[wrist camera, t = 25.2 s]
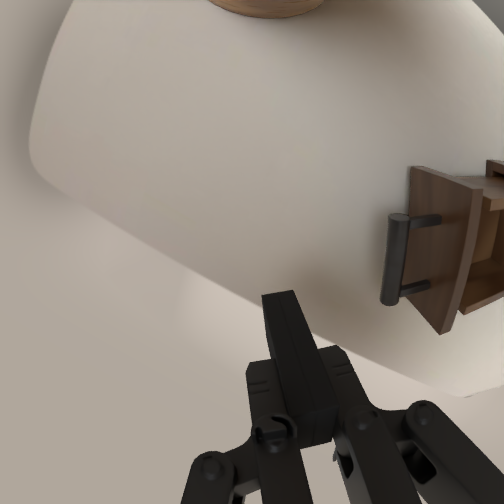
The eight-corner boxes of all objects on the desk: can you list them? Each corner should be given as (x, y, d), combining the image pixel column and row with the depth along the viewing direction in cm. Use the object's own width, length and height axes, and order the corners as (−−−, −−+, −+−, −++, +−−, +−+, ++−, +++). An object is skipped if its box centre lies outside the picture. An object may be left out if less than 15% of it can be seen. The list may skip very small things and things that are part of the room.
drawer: (356, 300, 22) (392, 353, 16) (362, 168, 17) (421, 192, 11) (484, 264, 23) (522, 294, 17) (499, 168, 18) (548, 187, 12)
